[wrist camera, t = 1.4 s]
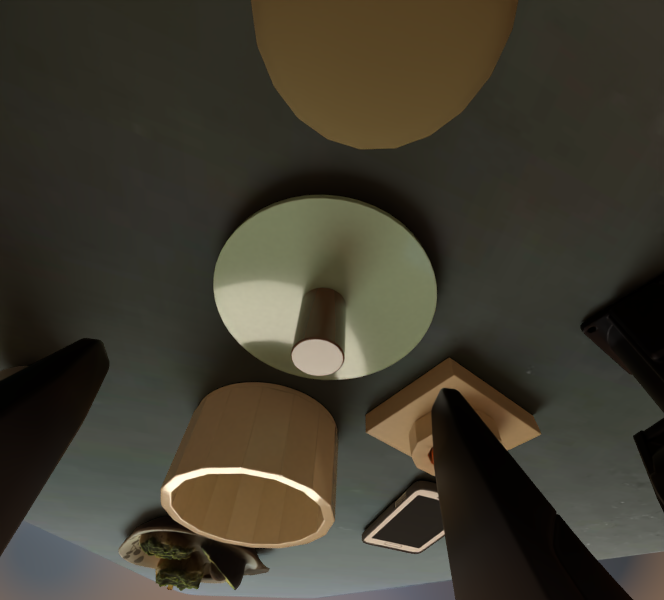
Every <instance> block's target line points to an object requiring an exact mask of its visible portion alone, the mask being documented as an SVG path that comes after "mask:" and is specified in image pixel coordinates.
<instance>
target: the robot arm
mask: <svg viewBox="0 0 664 600" xmlns="http://www.w3.org/2000/svg"><path fill="white" fill-rule="evenodd" d="M590 327H591V328H590ZM581 330H582V331H583V332H584V334H585V335H586V336H587V337H589V338H590V339H591V340H592V341H593V342H594V343H595V344H596V345H597V346H599V347H600V348H601V349H602V350H603V351H604V352H605V353H606V354H608V355H609V356H610V357H611V358H612V359H613V360H614V361H615V362H616V363H618V364H619V365H620V366H621V367H622V368H623V369H624V370H625V371H627V372H628V373H629V374H631V375H633V376H634V377H635V378H636V379H637V381H638V382H639V383H640V384H641V385H642V387H643V388H644V389H645V390H646V392H647V393H648V394H649V395H650V397H651V398H652V399H653V400H654V401H655V403H656V404H657V405H658V406H659V408H660V409H661V410H662V411H663V412H664V274H662V275H661V276H659V277H657V278H656V279H654V280H652V281H651V282H649V283H647V284H646V285H644V286H642V287H641V288H639V289H637V290H636V291H634V292H633V293H631V294H629V295H628V296H626V297H624V298H623V299H621V300H619V301H618V302H616V303H614V304H613V305H611V306H609V307H608V308H606V309H604V310H603V311H601V312H600V313H598V314H596V315H595V316H593V317H591V318H590V319H588V320H586V321H585V322H583V323H582V325H581ZM108 369H109V359H108V356H107V353H106V350H105V347H104V344H103V342H102V341H101V340H97V339H90V338H83V339H81V340H79V341H77V342H75V343H73V344H71V345H69V346H67V347H65V348H63V349H61V350H59V351H57V352H55V353H53V354H51V355H49V356H47V357H45V358H44V359H42V360H40V361H38V362H36V363H34V364H32V365H30V366H28V367H26V368H24V369H22V370H20V371H18V372H16V373H14V374H12V375H10V376H8V377H6V378H5V379H3V380H1V381H0V556H1V555H2V553H3V551H4V549H5V548H6V547H7V545H8V543H9V542H10V540H11V539H12V537H13V535H14V533H15V532H16V530H17V529H18V527H19V526H20V524H21V522H22V521H23V519H24V517H25V516H26V514H27V513H28V511H29V509H30V508H31V506H32V505H33V503H34V501H35V500H36V498H37V496H38V495H39V493H40V492H41V490H42V488H43V487H44V485H45V484H46V482H47V480H48V479H49V477H50V475H51V474H52V472H53V471H54V469H55V467H56V466H57V464H58V462H59V461H60V459H61V458H62V456H63V454H64V453H65V451H66V450H67V448H68V446H69V445H70V443H71V441H72V440H73V438H74V437H75V435H76V433H77V432H78V430H79V428H80V427H81V425H82V423H83V421H84V419H85V417H86V416H87V414H88V411H89V409H90V407H91V405H92V403H93V401H94V399H95V397H96V395H97V393H98V391H99V389H100V386H101V384H102V382H103V380H104V378H105V376H106V374H107V372H108ZM431 420H432V439H433V458H434V471H435V478H436V484H437V490H438V496H439V503H440V509H441V515H442V521H443V527H444V533H445V539H446V545H447V551H448V557H449V563H450V569H451V575H452V581H453V587H454V593H455V599H456V600H633V599H632V598H631V597H630V596H629V595H628V594H627V593H626V592H625V591H624V589H623V588H622V587H621V586H620V585H619V584H618V583H617V582H616V581H615V580H614V578H612V576H611V575H610V574H609V573H608V572H607V571H606V570H605V568H604V567H603V566H602V565H601V564H600V563H599V562H598V561H597V559H596V558H595V557H594V556H593V555H592V554H591V553H590V551H589V550H588V549H587V548H586V547H585V545H584V544H583V543H582V542H581V541H580V539H579V538H578V537H577V536H576V535H575V534H574V532H573V531H572V530H571V529H570V527H569V526H568V525H567V524H566V523H565V521H564V520H563V519H562V518H561V516H560V515H558V514H556V510H555V509H554V508H553V507H552V505H551V504H550V503H549V502H548V500H547V499H546V498H545V497H544V496H543V494H542V493H541V492H540V491H539V489H538V488H537V487H536V486H535V484H534V483H533V482H532V481H531V479H530V478H529V477H528V476H527V475H526V473H525V472H524V471H523V470H522V468H521V467H520V466H519V465H518V463H517V462H516V461H515V460H514V458H513V457H512V456H511V455H510V454H509V452H508V451H507V450H506V449H505V447H504V446H503V445H502V444H501V442H500V441H499V440H498V439H497V437H496V436H495V435H494V434H493V433H492V431H491V430H490V429H489V428H488V426H487V425H486V424H485V423H484V421H483V420H482V419H481V418H480V416H479V415H478V414H477V413H476V412H475V410H474V409H473V408H472V407H471V405H470V404H469V403H468V402H467V400H466V399H465V398H464V397H463V395H462V394H461V393H460V392H459V391H458V390H456V389H451V388H442V389H441V390H440V391H439V393H438V396H437V398H436V400H435V402H434V404H433V406H432V410H431ZM633 438H634V440H635V443H636V445H637V448H638V450H639V453H640V456H641V458H642V461H643V463H644V466H645V468H646V471H647V474H648V476H649V479H650V481H651V484H652V486H653V489H654V492H655V494H656V497H657V499H658V501H659V503H660V506H661V508H662V509H663V512H664V418H663V419H661V420H660V421H658V422H657V423H655V424H654V425H652V426H651V427H649V428H648V429H646V430H645V431H642V430H641V431H640V432H638V433H637V434H635V435H634V436H633Z"/></svg>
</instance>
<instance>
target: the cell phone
mask: <svg viewBox="0 0 664 600" xmlns="http://www.w3.org/2000/svg"><path fill="white" fill-rule="evenodd" d="M444 536H445V533H444V527H443V521H442V515H441V509H440V503H439V496H438V490H437V484H436V483H432V482H428V481H417V482H415V483H414V484H413V485H411V486H410V487H409V488H408V489H407V490H406V492H405V493H404V494H403V495H402V496H401V497H400V498H399V499H398V500H397V501H395V502H393V503H392V504H391V505H390V506H389V507H388V508H387V509H386V510H385V511H384V512H383V513H382V514H381V515H380V516H379V517H378V518H377V519H376V520H375V521H374V522H373V523H372V524H371V525H370V526H369V527H368V528H367V529H366V530H365V531H364V532H363V534H362V541H363V543H366V544H369V545H374V546H378V547H383V548H388V549H392V550H397V551H402V552H406V553H412V554H419V553H421V552H423V551H424V550H426V549H427V548H429V547H430V546H431V545H433V544H434V543H435V542H437V541H438V540H440V539H441V538H442V537H444Z"/></svg>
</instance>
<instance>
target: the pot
mask: <svg viewBox="0 0 664 600" xmlns="http://www.w3.org/2000/svg"><path fill="white" fill-rule="evenodd" d="M337 435H338V434H337V426H336V423H335V421H334V419H333V417H332V416H331V414H330V413H329V412H328V410H327V409H326V408H325V407H324V406H323V405H321V404H320V403H319V402H318V401H316V400H315V399H313V398H311V397H310V396H308V395H306V394H304V393H302V392H300V391H297V390H294V389H292V388H289V387H285V386H281V385H277V384H271V383H262V382H245V383H236V384H231V385H227V386H224V387H221V388H219V389H217V390H214V391H213V392H211V393H210V394H208V395H207V396H206V397H205V398H204V399H203V400H202V401H201V402H200V403H199V405H198V407H197V409H196V410H195V411H194V413H193V415H192V418H191V420H190V422H189V424H188V427H187V429H186V431H185V434H184V436H183V438H182V441H181V443H180V445H179V448H178V450H177V452H176V454H175V457H174V459H173V461H172V464H171V466H170V468H169V471H168V473H167V475H166V478H165V480H164V482H163V485H162V487H161V505H162V507H163V508H164V509H165V510H166V512H167V513H168V514H169V515H170V516H171V518H172V519H173V520H174V521H176V522H178V523H179V524H181V525H183V526H184V527H186V528H188V529H189V530H191V531H193V532H195V533H197V534H200V535H202V536H205V537H208V538H211V539H214V540H217V541H220V542H223V543H229V544H235V545H240V546H246V547H253V548H284V547H290V546H296V545H302V544H308V543H310V542H312V541H314V540H316V539H318V538H320V537H322V536H324V535H326V533H327V532H328V530H329V529H330V527H331V526H332V524H333V523H334V521H335V504H336V482H337V460H338V437H337Z"/></svg>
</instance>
